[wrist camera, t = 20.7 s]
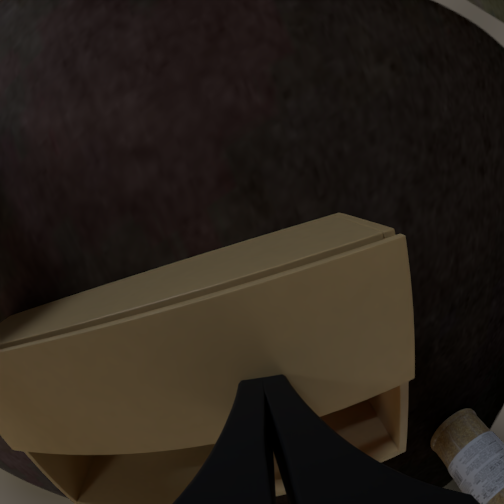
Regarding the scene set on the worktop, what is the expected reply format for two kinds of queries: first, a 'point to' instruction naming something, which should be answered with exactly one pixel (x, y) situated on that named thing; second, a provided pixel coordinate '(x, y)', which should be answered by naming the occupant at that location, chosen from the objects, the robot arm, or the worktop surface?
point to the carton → (179, 290)
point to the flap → (215, 358)
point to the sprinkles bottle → (472, 456)
